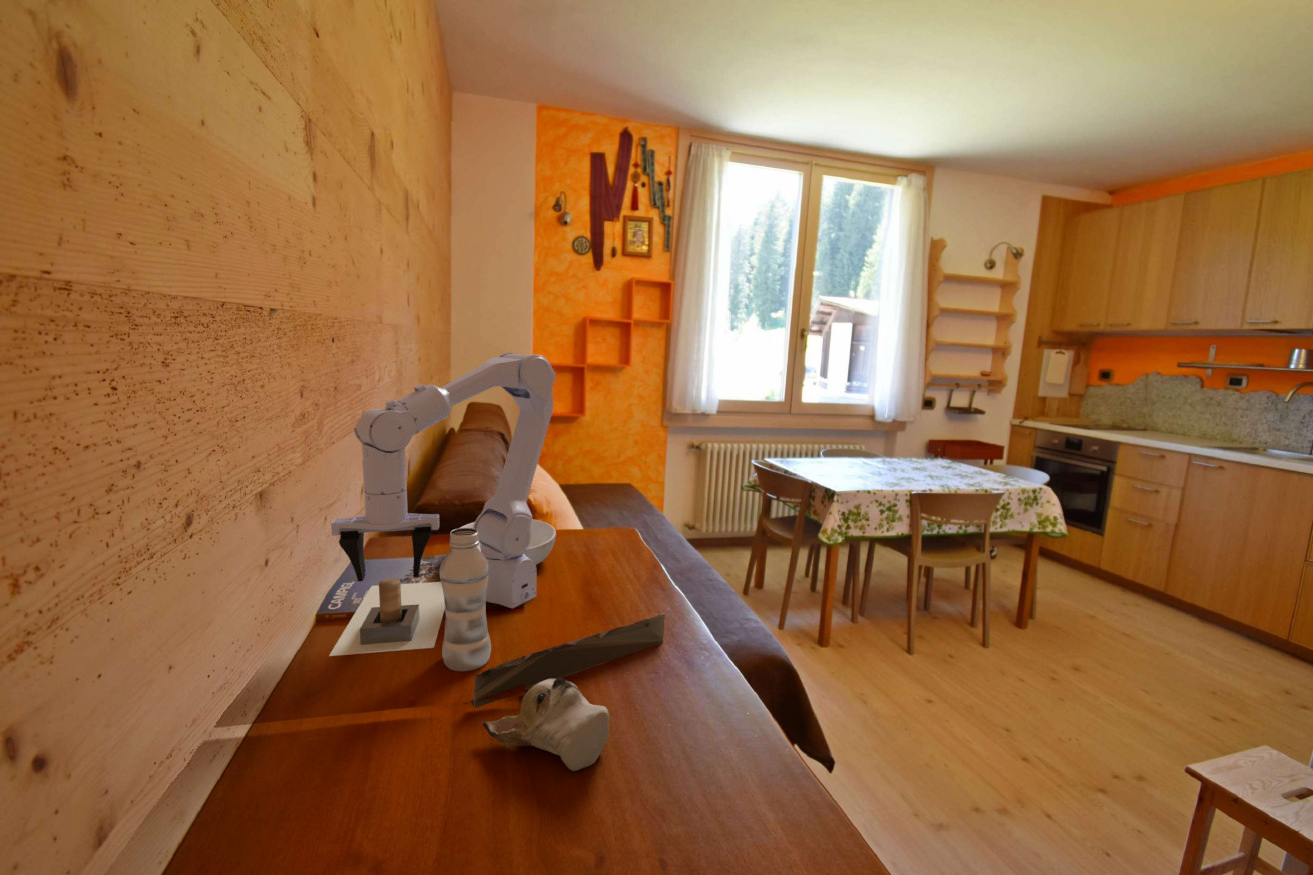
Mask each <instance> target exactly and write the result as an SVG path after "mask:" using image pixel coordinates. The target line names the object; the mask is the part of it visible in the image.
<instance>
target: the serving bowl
mask: <svg viewBox="0 0 1313 875" xmlns="http://www.w3.org/2000/svg"><path fill="white" fill-rule="evenodd" d="M474 523H475V521H474V522H470V523H467V524H465V525H462V526H461V527H459V528H473V526H474ZM530 529H531V540H530V543H529V545H528V547H527V549H526V550H525V551H524V554H525V555H526V556H527V557H528V558H529V559H531V560H532V561H533V562H534V563H535V565H536V566H537V565H538V564H540V563H541V562H543V561H544V560H545V559H546V558H547V557H548V556H549V555H550V553H551V551H553V547H554V545H555V542H556V536H557V535H556V534H557V532H556V528H555V527H554V526H552V525H551V524H549V523H547V522H545V521H543V520H538V519H533V518H532V521H531V527H530ZM477 548H478V549H479V550H480V551H481V549H480V542H479V545H478V546H477Z"/></svg>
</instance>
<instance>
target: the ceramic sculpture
mask: <svg viewBox="0 0 1313 875" xmlns="http://www.w3.org/2000/svg"><path fill="white" fill-rule="evenodd" d="M583 695H584V694H582V692H581V691H580V690H579V688H578V686H577V685H576V684H575V683H573V682H571V681H568V680H566V679H565V678H564V677H563V678H557V679H547V680H544V681H542V682H540V683H538V684H536V685H534V686H533V687H532V688H531V689H528V690H527V692H526V693H525V694H524V696H523V697H522V700H521V704H520V709H519V713H518V715H507V716H503V717H501V718H499V719H497V720H491V721H482V722H481V725H482V726H483V728H484V729H485V731H486V732H487V734H488V735H489V736H490V737H491V738H493V739H494V740H495V741H497V742H498V743H499V744H501V745H504V746H507V747H518V746H519V747H523V746H524V747H528V746H532V747H535V748H538V749H540V750H543V751H547V752H549V753H552V754H554V755H557V756H559V757H560V759H561V760H562V762H563V763H564V765H565V766H566V767H567V768H568V769H569V770H570V771H572V772H576V771H579V770H581V769H584V768H587V767H590V766H592V765H593V764H595V763H596V762H597V760H598V759H599V756H600V754H601V752H602V751H603V749H604V747H605V745H606V742H607V739H608V738H609V732H610V723H609V722H610V714H609V709H608V708H607V707H606V706H604V705H598V704H592V703H590V702H589V701H588V700H587V698H586V697H585V696H583Z"/></svg>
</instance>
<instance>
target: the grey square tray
mask: <svg viewBox="0 0 1313 875" xmlns="http://www.w3.org/2000/svg"><path fill="white" fill-rule="evenodd" d="M401 608H402V622H389V623H381V622H380V607H372V608H371V610H370V612H369V613H368V615H367V617H366V619H365V621H364V622H363V624H362V626H361V628H360V642H361V645H364V644H377V643H390V642H402V641H412V638H413V635H414V633H415V630H416V627H417V624H418V622H419V619H420V618H419V604H417V605H402V606H401Z"/></svg>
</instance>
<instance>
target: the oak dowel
mask: <svg viewBox="0 0 1313 875" xmlns="http://www.w3.org/2000/svg"><path fill="white" fill-rule="evenodd" d="M401 584H402V583H401V579H400V578H395V577H394V578H393V577H392V578H386V579H383V580H380V581H379V583H378V585H379V600H380V622H381V623H389V622H402V608H401Z"/></svg>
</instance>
